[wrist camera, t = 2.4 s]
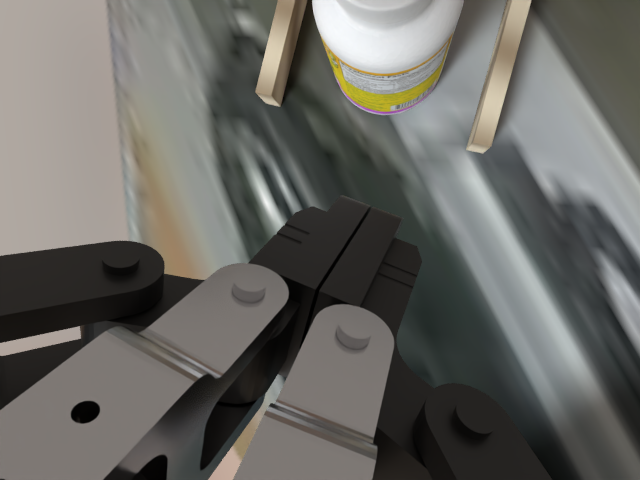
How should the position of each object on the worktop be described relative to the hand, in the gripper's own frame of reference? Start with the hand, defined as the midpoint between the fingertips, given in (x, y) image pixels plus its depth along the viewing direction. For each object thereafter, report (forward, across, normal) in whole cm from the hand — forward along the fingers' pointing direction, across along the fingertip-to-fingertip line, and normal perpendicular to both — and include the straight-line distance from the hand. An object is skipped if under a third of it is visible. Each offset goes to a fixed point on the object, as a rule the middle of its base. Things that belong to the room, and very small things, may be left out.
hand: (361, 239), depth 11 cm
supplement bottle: (+22, +4, +1) cm, 22 cm away
